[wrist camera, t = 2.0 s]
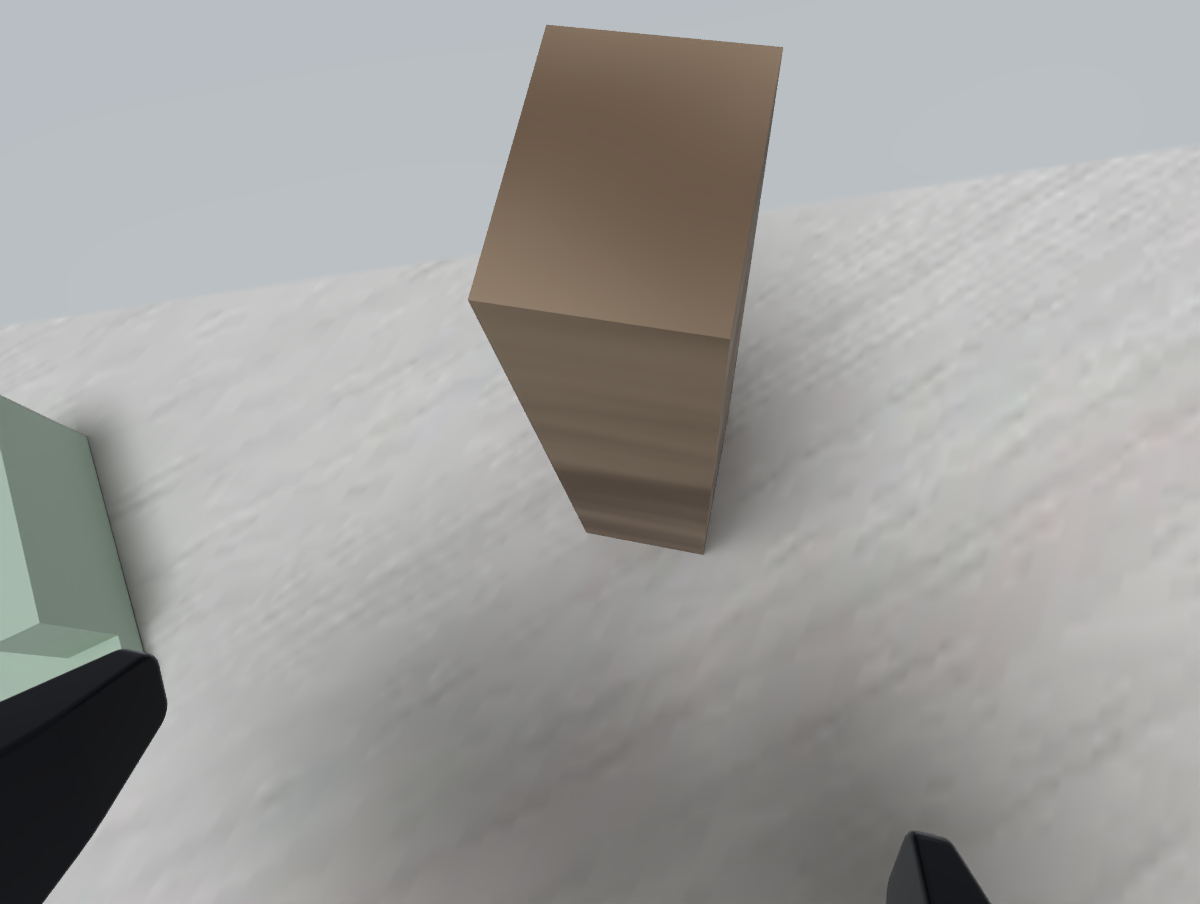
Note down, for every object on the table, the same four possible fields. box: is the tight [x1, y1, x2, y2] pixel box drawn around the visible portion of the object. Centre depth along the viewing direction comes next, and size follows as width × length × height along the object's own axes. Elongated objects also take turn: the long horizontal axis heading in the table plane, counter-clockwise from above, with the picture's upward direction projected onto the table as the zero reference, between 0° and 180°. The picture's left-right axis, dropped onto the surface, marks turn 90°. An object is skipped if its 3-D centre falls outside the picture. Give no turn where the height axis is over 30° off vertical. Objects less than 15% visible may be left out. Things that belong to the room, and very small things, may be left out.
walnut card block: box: [468, 25, 783, 555], centre depth 18 cm, size 4×3×14 cm
